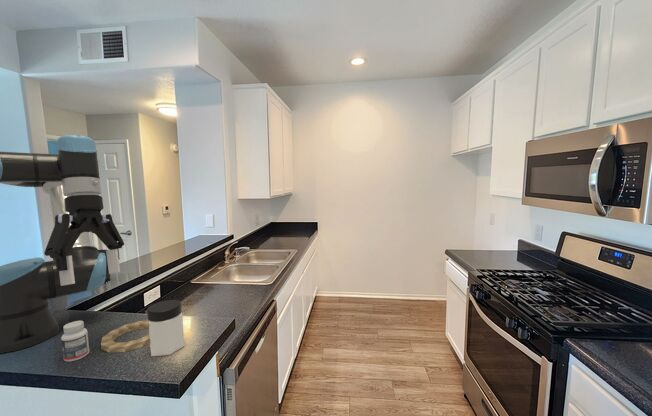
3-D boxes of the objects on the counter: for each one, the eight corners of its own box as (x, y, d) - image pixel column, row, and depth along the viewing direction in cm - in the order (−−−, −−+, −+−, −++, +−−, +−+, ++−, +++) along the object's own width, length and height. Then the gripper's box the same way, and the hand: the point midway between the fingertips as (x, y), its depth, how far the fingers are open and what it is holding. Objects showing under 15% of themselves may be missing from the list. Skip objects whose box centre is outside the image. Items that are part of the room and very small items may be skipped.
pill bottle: (68, 353, 76) (65, 321, 76) (92, 348, 79) (89, 317, 78) (59, 364, 72) (56, 330, 71) (85, 359, 74) (82, 326, 73)
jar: (190, 338, 82) (187, 298, 82) (178, 355, 74) (175, 311, 73) (157, 340, 82) (154, 300, 81) (142, 357, 74) (138, 313, 73)
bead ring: (87, 354, 76) (87, 348, 76) (123, 326, 91) (123, 321, 91) (146, 350, 77) (146, 345, 77) (172, 323, 92) (172, 319, 92)
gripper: (47, 189, 60) (59, 288, 59) (132, 197, 85) (141, 267, 84) (14, 194, 60) (25, 293, 60) (109, 201, 85) (117, 271, 85)
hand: (93, 278), depth 72 cm, fingers open, 13 cm apart
